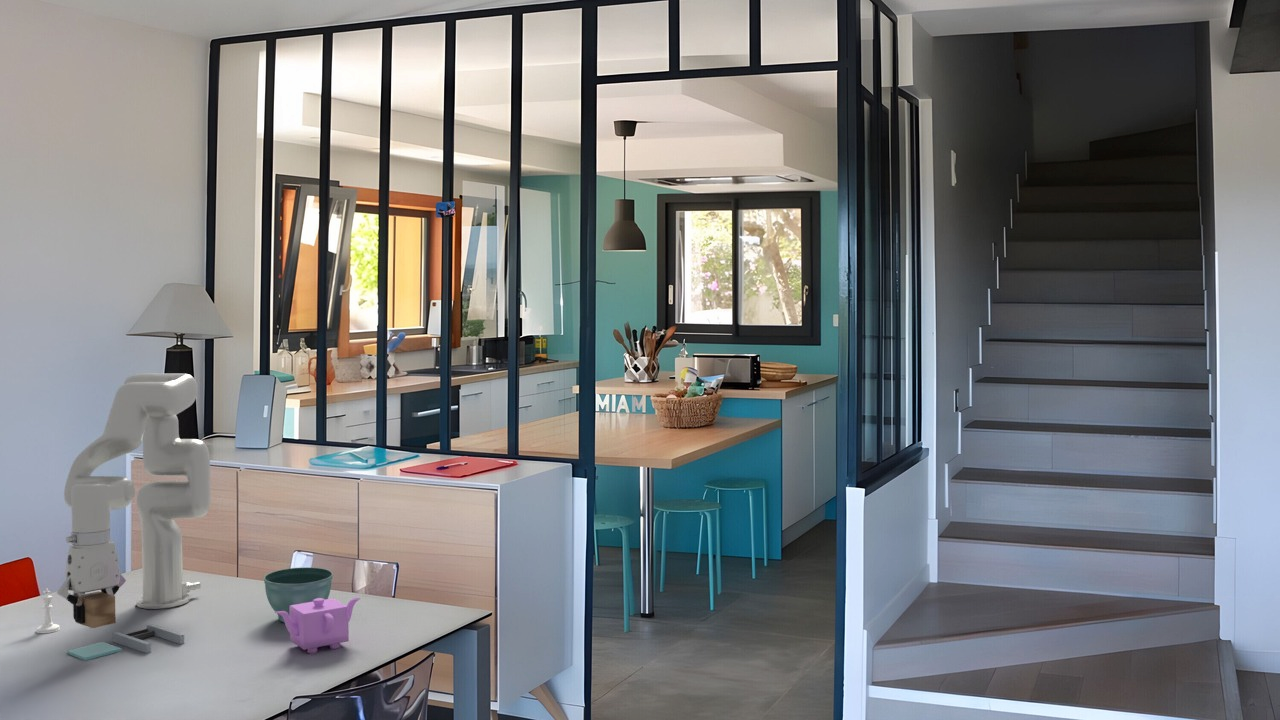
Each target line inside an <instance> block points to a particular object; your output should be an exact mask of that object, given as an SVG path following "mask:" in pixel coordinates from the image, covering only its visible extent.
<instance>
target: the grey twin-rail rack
mask: <svg viewBox="0 0 1280 720" xmlns="http://www.w3.org/2000/svg"><path fill="white" fill-rule="evenodd" d="M112 635H113V636H112V639H113V640H112V641H113V643H117V644H119V645H123V646H125V647H128V648H131V649H133V650H137V651H139V652H142V653H144V654H148V653H152V642H148V641H145V639H148V638H152V637H158V638H161V639H163V640H166V641H170V642H173V643H176V644H178V645H182V644H185V634H184V633H181V632H178V631H175V630H173V629H172V630H171V629H169V628H166V627H163V626H159V625H155V624H153V623H148V624H146V628H144V629H139V630H136V631H132V632H128V633H121V632H119V631H117V632H116V631H115V632H113V633H112ZM143 639H144V640H143Z"/></svg>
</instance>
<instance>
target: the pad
mask: <svg viewBox="0 0 1280 720" xmlns="http://www.w3.org/2000/svg"><path fill="white" fill-rule="evenodd" d="M120 652H122V648H121V647H119V646H115V645H112V644H110V643H107V642H105V641H101V642H95V643H93V644H88V645H85V646H81V647H76V648H73V649H69V650H66V654H67V655H70V656H72V657H75V658H78V659H80V660H83V661H89V660H93V659H97V658H99V657H104V656H108V655H111V654H116V653H120Z"/></svg>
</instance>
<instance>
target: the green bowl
mask: <svg viewBox="0 0 1280 720" xmlns="http://www.w3.org/2000/svg"><path fill="white" fill-rule="evenodd" d="M333 576H334V575H333V571H332V570H329V569H327V568H323V567H322V568H321V567H309V566H308V567H303V566H302V567H291V568H289V567H288V568H284V569H283V568H282V569H279V570H278V569H277V570H274V571H271V572H269V573H266V574H265V575H264V577H263V581H264V587H265V589H264V591H265V595H266V597H267V600H268V603H269V605H270V607H271V609H272V610H273V612H277V611H285V612H287V613H288V615H289V616H290V605H296V604H301V603H307V602H313V600H314V599H317V598H323V599H324V600H325V599H329V596H330V593H331V589H332V581H333ZM277 617H278V620H279V621H280V622H282V623H285V622H284V619H283V617H282V616H281V615H280V614H277Z"/></svg>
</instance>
